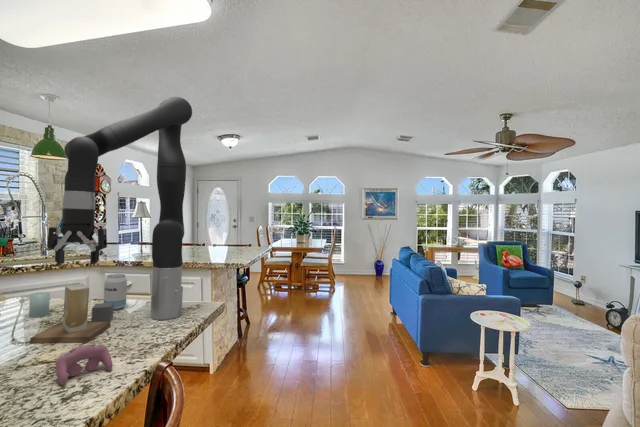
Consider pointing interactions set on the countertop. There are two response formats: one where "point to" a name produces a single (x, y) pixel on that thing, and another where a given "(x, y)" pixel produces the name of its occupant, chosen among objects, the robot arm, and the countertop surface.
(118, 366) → the countertop surface
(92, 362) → the video game controller
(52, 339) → the wooden board
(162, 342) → the countertop surface
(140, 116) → the robot arm
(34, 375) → the countertop surface
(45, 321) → the countertop surface
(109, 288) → the beverage can
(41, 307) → the grey-green rounded block
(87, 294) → the skincare box
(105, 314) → the rubber block
